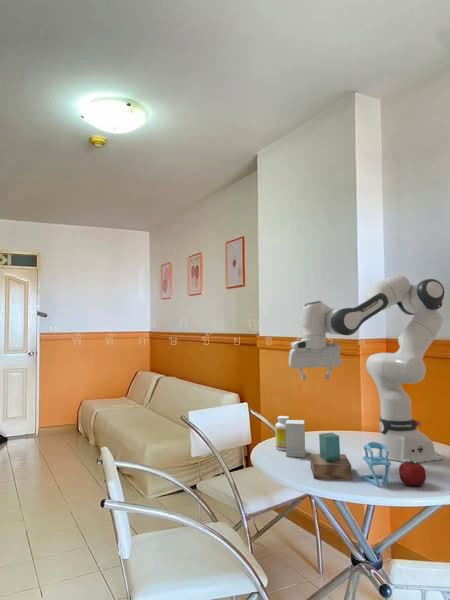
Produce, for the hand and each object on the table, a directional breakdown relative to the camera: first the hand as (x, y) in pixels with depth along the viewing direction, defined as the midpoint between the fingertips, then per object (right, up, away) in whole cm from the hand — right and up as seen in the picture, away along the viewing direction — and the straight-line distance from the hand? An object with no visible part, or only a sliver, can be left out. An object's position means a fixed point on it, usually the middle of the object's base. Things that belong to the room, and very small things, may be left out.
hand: (315, 379), depth 165 cm
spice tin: (+1, -24, -20) cm, 31 cm away
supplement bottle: (-11, -31, +10) cm, 34 cm away
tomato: (+24, -27, -31) cm, 48 cm away
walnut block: (+1, -29, -20) cm, 35 cm away
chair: (+14, -28, -29) cm, 42 cm away
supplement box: (-7, -30, +2) cm, 31 cm away
